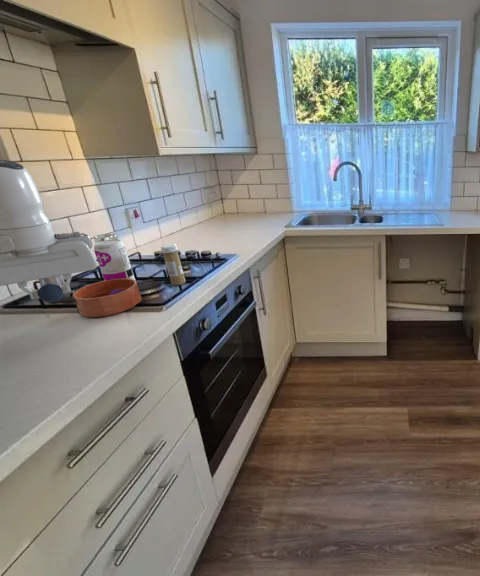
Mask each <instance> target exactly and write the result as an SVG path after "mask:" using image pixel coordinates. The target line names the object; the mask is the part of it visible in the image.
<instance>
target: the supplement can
mask: <svg viewBox="0 0 480 576" xmlns="http://www.w3.org/2000/svg"><path fill="white" fill-rule="evenodd" d="M93 245H94V247H93V252H94V256H95V259H96V261H97V264H98V266H99V269H100V272H101V275H102V278H103V281H106V280H112V279H124V278H128V279H134V280H135V281H136V278H135V275H134V271H133V268H132V265H131V262H130V261H131V260H130V257H129V255H128V252H127V250H126V249H127V248H126V246H125V244H124V243H123V242H122V240H120V239H119V240H106V241H101V242H97V243H95V242H94V244H93Z"/></svg>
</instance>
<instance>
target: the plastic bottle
mask: <svg viewBox="0 0 480 576" xmlns="http://www.w3.org/2000/svg"><path fill="white" fill-rule="evenodd" d="M38 282H39V287H40V288H41V287H42V286H43V285H46V284H56V285H59V286H61V285H63V284H65V282H66V280H65V279H64V278H63V275H61V276H55V277H49V278H44V279H38ZM70 296H71V292H68V293H64V294H63V297H62V298H61V299H60V300H58V301H56V302H62V301H65V300H67V299H69V298H70ZM56 302H55V303H56Z"/></svg>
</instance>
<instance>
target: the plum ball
mask: <svg viewBox="0 0 480 576" xmlns="http://www.w3.org/2000/svg"><path fill="white" fill-rule="evenodd" d="M122 291H124V290H121V289H115V290H113V291H111V292H110V294H109V295H113V294H116V293H119V292H122Z"/></svg>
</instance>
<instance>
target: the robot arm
mask: <svg viewBox="0 0 480 576" xmlns="http://www.w3.org/2000/svg"><path fill="white" fill-rule="evenodd" d="M92 248H93V242H92V239H91V237H90V236H89V235H88V234H87V233H84V232H81V231H72V232H67V233H66V232H63V233H55V232H54V229H53V226H52V223H51V221H50V219H49V217H48V216H47V215H46V213H45V211H44V208H43V200H42V197H41V194H40V191H39V188H38V187H37V185H36V182H35V181H34V179H33V177H32V175H31V174H30V172H29V171H28V170H27V168H26V167H25V166H24V165H22V164H20V163H19V162H16V161H12V160H6V159H0V287H4V286H9V285H14V284H15V285H16V284H17V287H18V288H19V289H20V290H22V291H24V293H27V294H28V295H29V298H30V299H31V300H32V301H33V300H37V299H40V297H39V295H38V291H39V289H33V288H32V287H30V286H29V285H28V284H29V282H31V281H32V282H33V281H37V280H38V279H44V278H49V277H55V276H61V275H62V277H63V279H64V280H65V284H63V285H61V286H60V287H61V290H62V293H68V292H70V293H71V292H72V290H71V286H70V283H71V281H72V277H73V275H72V274H76V273H77V274H78V273H83V272H89V271H94V270H95V269H96V268H97V266H98V261H97V258H96V255H95V253H93V252H94V251H93V250H92ZM38 281H39V280H38Z"/></svg>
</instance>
